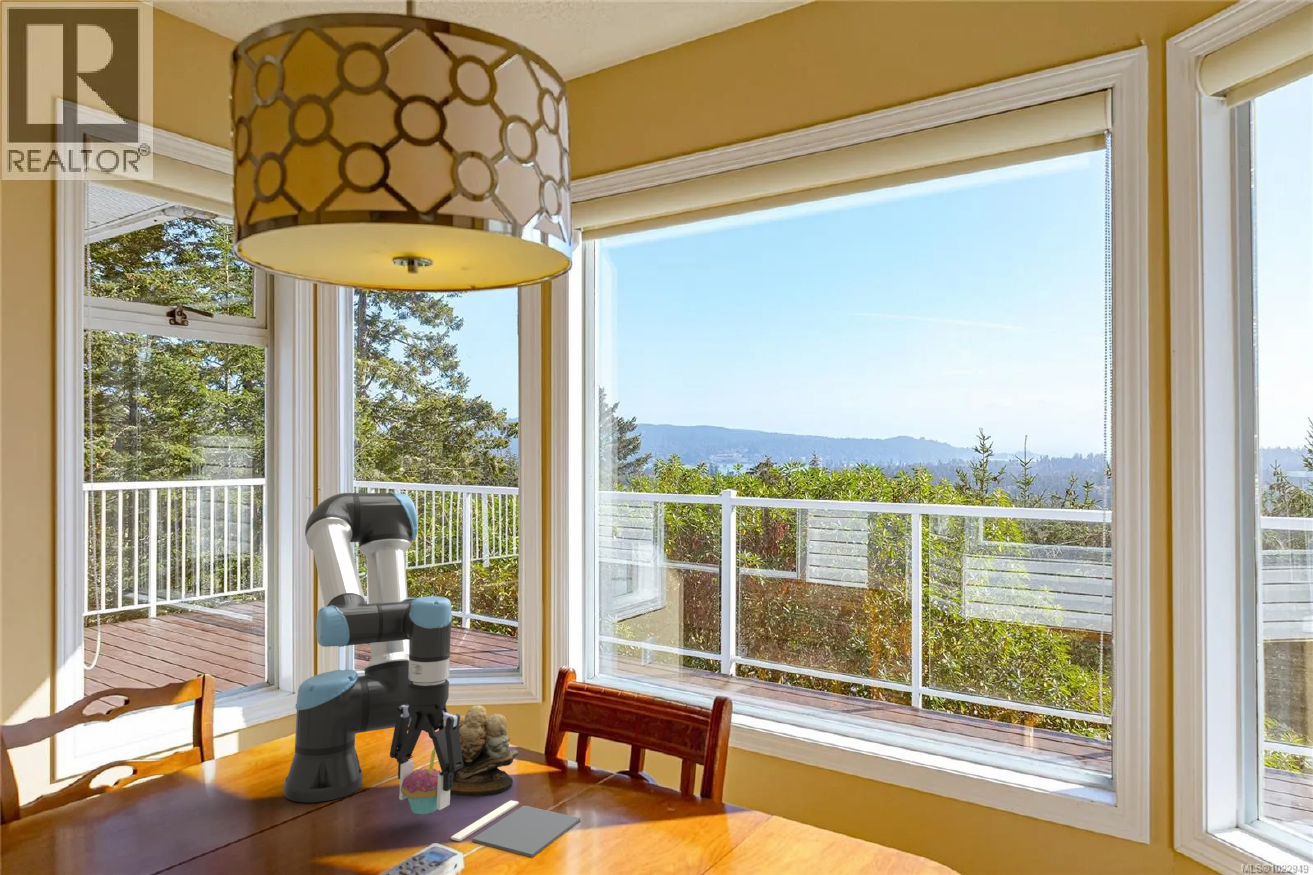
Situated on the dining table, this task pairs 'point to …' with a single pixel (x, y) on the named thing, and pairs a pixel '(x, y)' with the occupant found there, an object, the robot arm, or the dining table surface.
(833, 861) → the dining table surface
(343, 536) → the robot arm
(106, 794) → the dining table surface
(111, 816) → the dining table surface
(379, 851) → the dining table surface
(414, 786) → the cupcake
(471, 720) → the owl figurine
